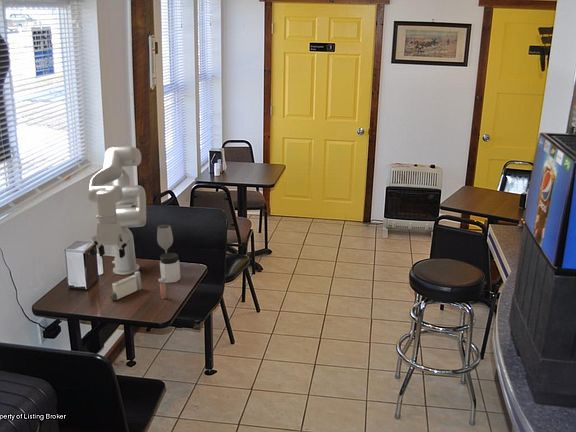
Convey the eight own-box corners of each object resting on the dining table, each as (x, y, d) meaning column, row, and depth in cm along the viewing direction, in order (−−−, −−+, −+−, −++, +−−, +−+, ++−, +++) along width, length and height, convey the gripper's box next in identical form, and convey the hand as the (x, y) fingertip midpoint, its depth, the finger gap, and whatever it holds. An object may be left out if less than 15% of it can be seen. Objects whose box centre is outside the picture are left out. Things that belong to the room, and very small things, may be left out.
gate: (138, 287, 291) (136, 270, 288) (143, 288, 289) (141, 272, 286) (110, 299, 278) (108, 282, 276) (115, 301, 277) (113, 284, 274)
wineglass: (156, 267, 314) (152, 226, 307) (169, 262, 319) (166, 223, 312) (165, 271, 309) (161, 230, 302) (178, 266, 314) (175, 226, 307)
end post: (158, 298, 279) (156, 279, 276) (163, 295, 282) (162, 277, 279) (163, 300, 277) (161, 281, 275) (169, 297, 280) (167, 279, 277)
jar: (183, 280, 298) (181, 256, 294) (168, 284, 293) (165, 260, 289) (173, 274, 304) (171, 251, 301) (158, 279, 300) (156, 255, 296)
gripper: (85, 220, 270) (89, 257, 275) (121, 222, 266) (126, 260, 271) (94, 215, 277) (99, 251, 282) (130, 217, 273) (134, 254, 278)
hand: (112, 256), depth 276 cm, fingers open, 9 cm apart
